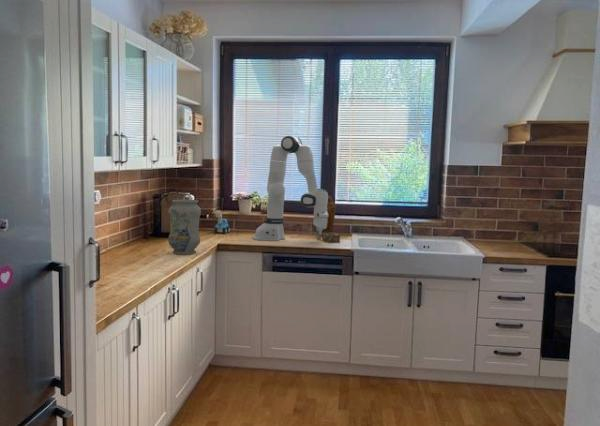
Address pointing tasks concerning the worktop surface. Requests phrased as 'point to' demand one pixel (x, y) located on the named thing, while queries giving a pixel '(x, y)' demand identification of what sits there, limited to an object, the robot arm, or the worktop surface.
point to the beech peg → (318, 234)
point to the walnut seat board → (331, 237)
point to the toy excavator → (221, 224)
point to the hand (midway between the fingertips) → (319, 233)
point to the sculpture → (330, 216)
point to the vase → (184, 226)
